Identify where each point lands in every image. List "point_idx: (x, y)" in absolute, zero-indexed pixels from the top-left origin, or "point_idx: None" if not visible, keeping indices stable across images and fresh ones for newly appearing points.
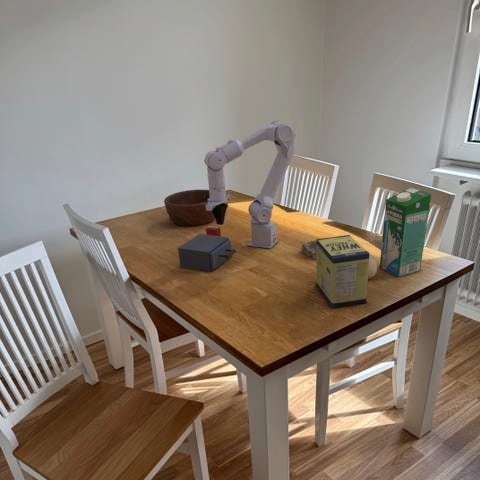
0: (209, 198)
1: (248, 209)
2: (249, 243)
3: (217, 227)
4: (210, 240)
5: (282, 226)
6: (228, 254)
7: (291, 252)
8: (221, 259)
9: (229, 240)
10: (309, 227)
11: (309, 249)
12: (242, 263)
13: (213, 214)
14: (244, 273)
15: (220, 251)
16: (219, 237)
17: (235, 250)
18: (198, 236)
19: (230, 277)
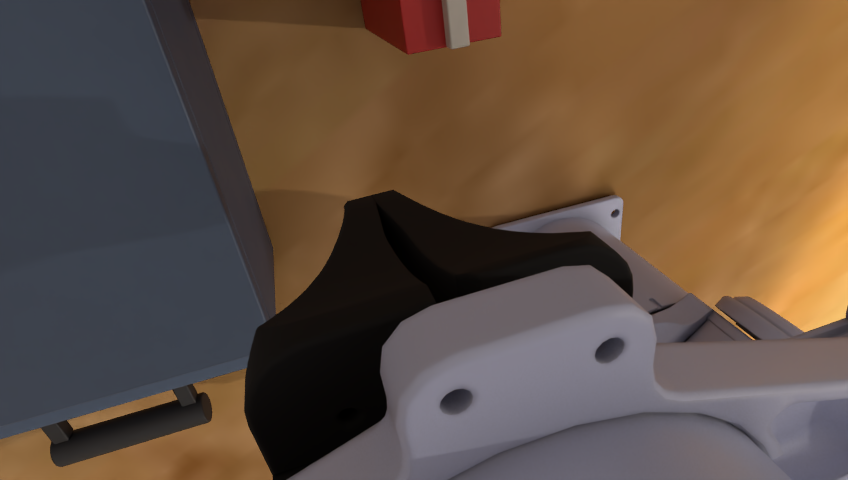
0: (567, 351)
1: (770, 333)
2: (513, 227)
3: (457, 43)
4: (66, 273)
5: (829, 192)
6: (85, 458)
7: None
8: None
9: None
10: (808, 315)
11: None
12: (231, 381)
13: (318, 276)
14: (126, 475)
15: None
16: (211, 288)
17: (204, 422)
18: (31, 22)
19: (12, 466)
